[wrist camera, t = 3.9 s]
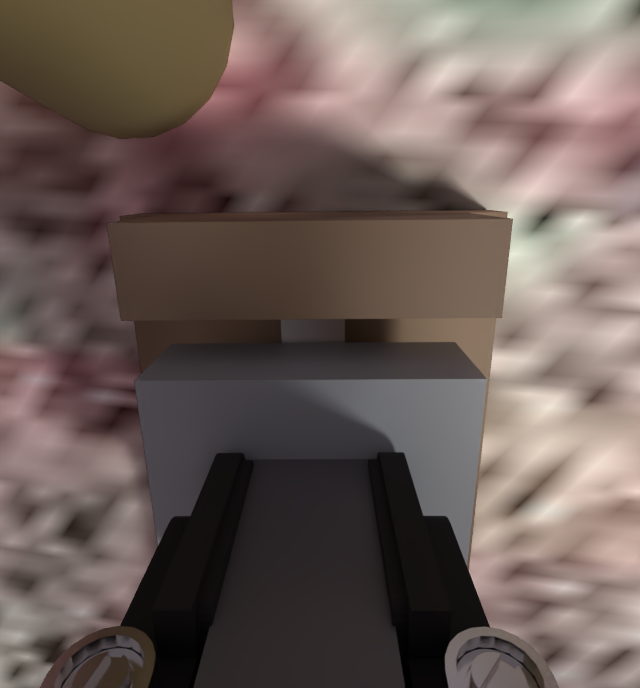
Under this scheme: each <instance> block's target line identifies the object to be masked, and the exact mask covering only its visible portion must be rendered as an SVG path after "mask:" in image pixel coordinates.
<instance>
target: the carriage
mask: <svg viewBox="0 0 640 688" xmlns="http://www.w3.org/2000/svg"><path fill="white" fill-rule="evenodd" d="M134 383H135V390H136V397H137V404H138V411H139V418H140V425H141V432H142V439H143V446H144V453H145V460H146V467H147V474H148V481H149V488H150V495H151V501H152V508H153V515H154V522H155V529H156V536H157V543H158V545H159V543H160V541H161V539H162V536H163V534H164V532H165V530H166V528H167V526H168V524H169V522H170V520H171V519H172V518H173V517H175V516H191V513H192V511H193V509H194V506H195V504H196V501H197V499H198V496H199V494H200V492H201V489H202V487H203V484H204V482H205V480H206V477H207V475H208V472H209V470H210V468H211V465H212V463H213V460H214V458H215V456H216V454H217V453H243V454H244V457H245V460H253V463H254V467H253V471H252V475H251V478H250V482H249V486H248V490H247V494H246V498H245V501H244V505H243V509H242V513H241V517H240V521H239V524H238V528H237V532H236V536H235V540H234V544H233V547H232V551H231V555H230V559H229V563H228V567H227V570H226V574H225V578H224V582H223V586H222V590H221V593H220V597H219V601H218V605H217V609H216V613H215V616H214V620H213V624H212V626H210V627H209V631H208V635H207V639H206V643H205V646H204V650H203V654H202V658H201V661H200V665H199V669H198V673H197V676H196V680H195V684H194V688H405V684H404V677H403V671H402V665H401V659H400V653H399V646H398V640H397V634H396V628H395V626H392V619H391V613H390V606H389V600H388V593H387V587H386V580H385V574H384V567H383V561H382V554H381V548H380V541H379V535H378V528H377V522H376V515H375V509H374V502H373V496H372V489H371V483H370V476H369V470H368V459H377V455H378V452H403V453H404V454H405V457H406V460H407V463H408V467H409V470H410V473H411V477H412V480H413V483H414V487H415V490H416V493H417V496H418V500H419V503H420V506H421V510H422V513H423V516H446V517H448V519H449V521H450V523H451V526H452V528H453V531H454V534H455V536H456V539H457V542H458V544H459V547H460V549H461V552H462V555H463V557H464V560H465V563H466V565H467V561H468V552H469V543H470V533H471V524H472V515H473V505H474V496H475V487H476V477H477V468H478V459H479V449H480V440H481V431H482V421H483V412H484V403H485V393H486V384H487V378H486V377H485V376H484V375H483V374H482V372H481V371H480V370H479V369H478V368H477V367H476V366H475V364H474V363H473V362H472V361H471V360H470V359H469V357H468V356H467V355H466V354H465V353H464V352H463V350H462V349H461V348H460V347H459V346H458V345H457V344H456V342H358V343H206V344H171V345H170V346H169V347H168V348H167V349H166V350H165V351H164V352H163V353H162V354H161V355H160V356H159V357H158V358H157V359H156V360H155V361H154V362H153V363H152V364H151V365H150V366H149V367H148V368H147V369H146V370H145V371H144V372H143V373H142V374H141V375H140V376H139V377H138V378H137V379H136V380H135V381H134Z"/></svg>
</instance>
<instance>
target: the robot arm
mask: <svg viewBox="0 0 640 688" xmlns="http://www.w3.org/2000/svg"><path fill="white" fill-rule="evenodd" d="M253 467H254V463H253V460H245V457H244V454H243V453H217V454H216V456H215V458H214V460H213V463H212V465H211V468H210V470H209V472H208V475H207V477H206V480H205V482H204V484H203V487H202V489H201V492H200V494H199V496H198V499H197V501H196V504H195V506H194V509H193V511H192V513H191V516H175V517H173V518H172V519H171V520H170V522H169V524H168V526H167V528H166V530H165V532H164V534H163V536H162V539H161V541H160V543H159V545H158V547H157V549H156V551H155V553H154V556H153V558H152V560H151V562H150V564H149V566H148V568H147V570H146V572H145V575H144V577H143V579H142V581H141V583H140V585H139V587H138V589H137V591H136V594H135V596H134V598H133V600H132V602H131V604H130V606H129V608H128V611H127V613H126V615H125V617H124V619H123V621H122V623H121V625H120V626H116V627H110V628H105V629H102V630H99V631H97V632H94V633H92V634H89V635H87V636H86V637H84V638H82V639H81V640H79V641H78V642H76V643H75V644H73V645H72V646H71V647H70V648H68V649H67V650H66V651H65V652H64V653H63V654H62V655H61V656H60V657H59V658H58V659H57V660H56V662H55V663H54V665H53V666H52V668H51V669H50V671H49V672H48V674H47V675H46V677H45V679H44V681H43V683H42V685H41V687H40V688H194V684H195V680H196V676H197V673H198V669H199V665H200V661H201V658H202V654H203V650H204V646H205V643H206V639H207V635H208V631H209V627H210V626H212V624H213V620H214V616H215V613H216V609H217V605H218V601H219V597H220V593H221V590H222V586H223V582H224V578H225V574H226V570H227V567H228V563H229V559H230V555H231V551H232V547H233V544H234V540H235V536H236V532H237V528H238V524H239V521H240V517H241V513H242V509H243V505H244V501H245V498H246V494H247V490H248V486H249V482H250V478H251V475H252V471H253ZM368 470H369V476H370V483H371V489H372V496H373V502H374V509H375V515H376V522H377V528H378V535H379V541H380V548H381V554H382V561H383V567H384V574H385V580H386V587H387V593H388V600H389V606H390V613H391V619H392V626H395V628H396V634H397V640H398V646H399V653H400V659H401V665H402V671H403V677H404V684H405V688H559V687H558V685H557V682H556V680H555V678H554V675H553V674H552V672H551V670H550V669H549V667H548V665H547V663H546V662H545V660H544V659H543V658H542V657H541V656H540V655H539V654H538V653H537V652H536V651H535V650H534V648H533V647H532V646H530V645H529V644H527V643H526V642H524V641H523V640H522V639H520V638H519V637H517V636H515V635H513V634H510V633H508V632H506V631H503V630H501V629H496V628H490V626H489V624H488V621H487V618H486V616H485V613H484V610H483V608H482V605H481V603H480V600H479V597H478V595H477V592H476V589H475V587H474V584H473V581H472V579H471V576H470V573H469V571H468V568H467V565H466V563H465V560H464V557H463V555H462V552H461V549H460V547H459V544H458V542H457V539H456V536H455V534H454V531H453V528H452V526H451V523H450V521H449V519H448V517H446V516H423V513H422V510H421V506H420V503H419V500H418V496H417V493H416V490H415V487H414V483H413V480H412V477H411V473H410V470H409V467H408V463H407V460H406V457H405V454H404V453H403V452H378V455H377V459H368Z"/></svg>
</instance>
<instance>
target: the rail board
mask: <svg viewBox="0 0 640 688" xmlns="http://www.w3.org/2000/svg"><path fill="white" fill-rule="evenodd" d="M507 213H508V212H502V211H493V210H441V211H345V212H249V213H153V214H134V215H125V216H120V221H118V222H111V223H107V229H108V236H109V243H110V250H111V256H112V263H113V270H114V277H115V284H116V291H117V297H118V304H119V311H120V318H121V321H134V324H135V331H136V338H137V346H138V353H139V360H140V367H141V374H142V373H143V372H144V371H145V370H146V369H147V368H148V367H149V366H150V365H151V364H152V363H153V362H154V361H155V360H156V359H157V358H158V357H159V356H160V355H161V354H162V353H163V352H164V351H165V350H166V349H167V348H168V347H169V346H170V345H171V344H206V343H358V342H456V344H457V345H458V346H459V347H460V348H461V349H462V350H463V352H464V353H465V354H466V355H467V356H468V357H469V359H470V360H471V361H472V362H473V363H474V364H475V366H476V367H477V368H478V369H479V370H480V371H481V372H482V374H483V375H484V376H485V377H486V378H487V384H486V393H485V403H484V412H483V421H482V431H481V440H480V449H479V459H478V468H477V477H476V487H475V496H474V505H473V515H472V524H471V533H470V543H469V552H468V561H467V568H468V571H469V561H470V552H471V543H472V534H473V525H474V516H475V506H476V497H477V488H478V479H479V470H480V461H481V451H482V442H483V433H484V424H485V415H486V405H487V396H488V387H489V378H490V369H491V360H492V350H493V341H494V332H495V323H496V318H502V311H503V302H504V294H505V285H506V276H507V267H508V258H509V249H510V240H511V232H512V223H513V219H510V218H507Z"/></svg>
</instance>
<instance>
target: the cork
mask: <svg viewBox="0 0 640 688" xmlns="http://www.w3.org/2000/svg"><path fill="white" fill-rule="evenodd" d="M233 29H234V20H233V9H232V0H0V81H2V82H3V83H5V84H7V85H9V86H10V87H12V88H14V89H16V90H17V91H19V92H21V93H23V94H24V95H26V96H28V97H30V98H32V99H33V100H35V101H37V102H39V103H40V104H42V105H44V106H46V107H47V108H49V109H51V110H53V111H54V112H56V113H58V114H60V115H61V116H63V117H65V118H67V119H68V120H70V121H72V122H74V123H75V124H77V125H79V126H81V127H83V128H84V129H86V130H90V131H94V132H97V133H101V134H104V135H108V136H111V137H115V138H118V139H127V138H144V137H155V136H157V135H159V134H161V133H164V132H166V131H168V130H171V129H173V128H175V127H177V126H180V125H182V124H184V123H185V122H186V121H187V120H188V119H190V118H191V117H192V116H193V115H194V114H195V113H196V112H197V111H198V110H199V109H200V108H201V107H202V106H203V105H204V104H205V103H206V102H207V101H208V100H209V99H210V97H211V95H212V94H213V92H214V90H215V88H216V86H217V84H218V82H219V80H220V78H221V76H222V74H223V72H224V70H225V68H226V66H227V62H228V56H229V51H230V46H231V40H232V35H233Z"/></svg>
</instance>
